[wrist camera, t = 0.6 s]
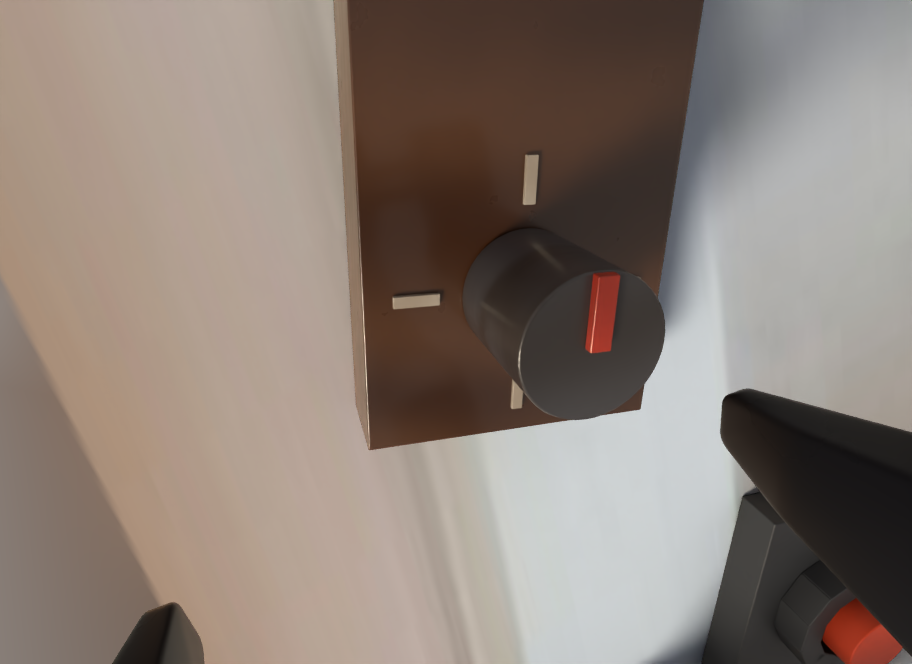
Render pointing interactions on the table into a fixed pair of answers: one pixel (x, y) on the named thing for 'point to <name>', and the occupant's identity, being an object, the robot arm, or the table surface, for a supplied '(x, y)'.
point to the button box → (772, 595)
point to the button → (859, 636)
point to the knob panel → (493, 177)
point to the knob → (563, 322)
